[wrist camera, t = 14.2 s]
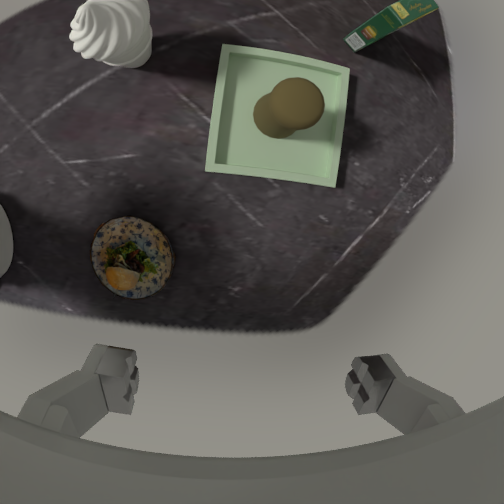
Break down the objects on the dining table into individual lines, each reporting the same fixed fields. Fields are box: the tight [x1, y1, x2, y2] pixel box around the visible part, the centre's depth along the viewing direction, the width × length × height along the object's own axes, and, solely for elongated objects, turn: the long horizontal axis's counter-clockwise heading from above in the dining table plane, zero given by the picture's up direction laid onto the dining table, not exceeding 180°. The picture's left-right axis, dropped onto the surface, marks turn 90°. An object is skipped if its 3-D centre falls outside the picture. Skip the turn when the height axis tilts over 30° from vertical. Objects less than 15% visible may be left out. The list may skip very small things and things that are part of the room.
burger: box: [90, 216, 176, 300], centre depth 35 cm, size 12×12×8 cm
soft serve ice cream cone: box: [69, 0, 152, 68], centre depth 22 cm, size 8×8×16 cm
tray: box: [205, 44, 350, 188], centre depth 33 cm, size 16×16×2 cm
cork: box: [253, 77, 325, 139], centre depth 29 cm, size 6×6×11 cm
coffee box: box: [343, 0, 439, 53], centre depth 25 cm, size 8×3×13 cm, turn 129°
